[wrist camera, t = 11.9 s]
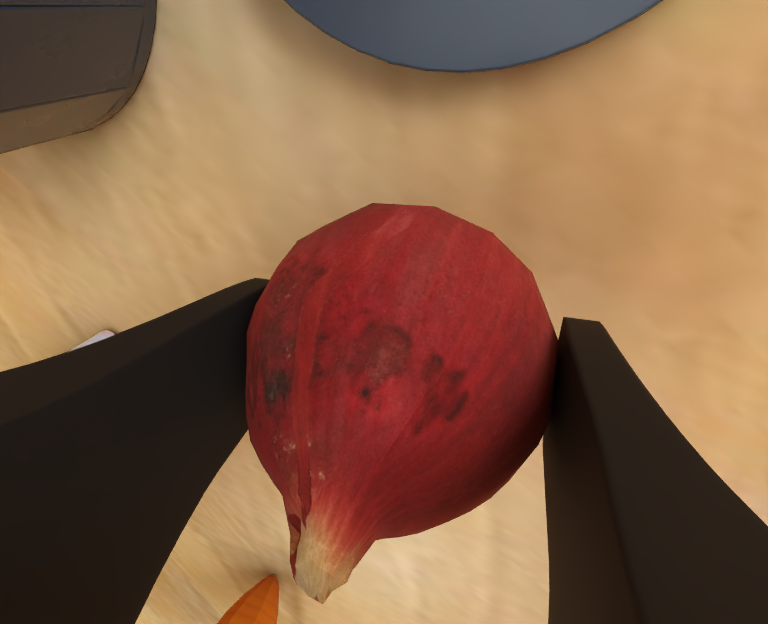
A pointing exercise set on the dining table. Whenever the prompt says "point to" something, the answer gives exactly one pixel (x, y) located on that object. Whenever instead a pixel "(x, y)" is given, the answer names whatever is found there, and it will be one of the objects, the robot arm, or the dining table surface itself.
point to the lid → (467, 29)
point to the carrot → (256, 605)
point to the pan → (68, 65)
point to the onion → (393, 380)
